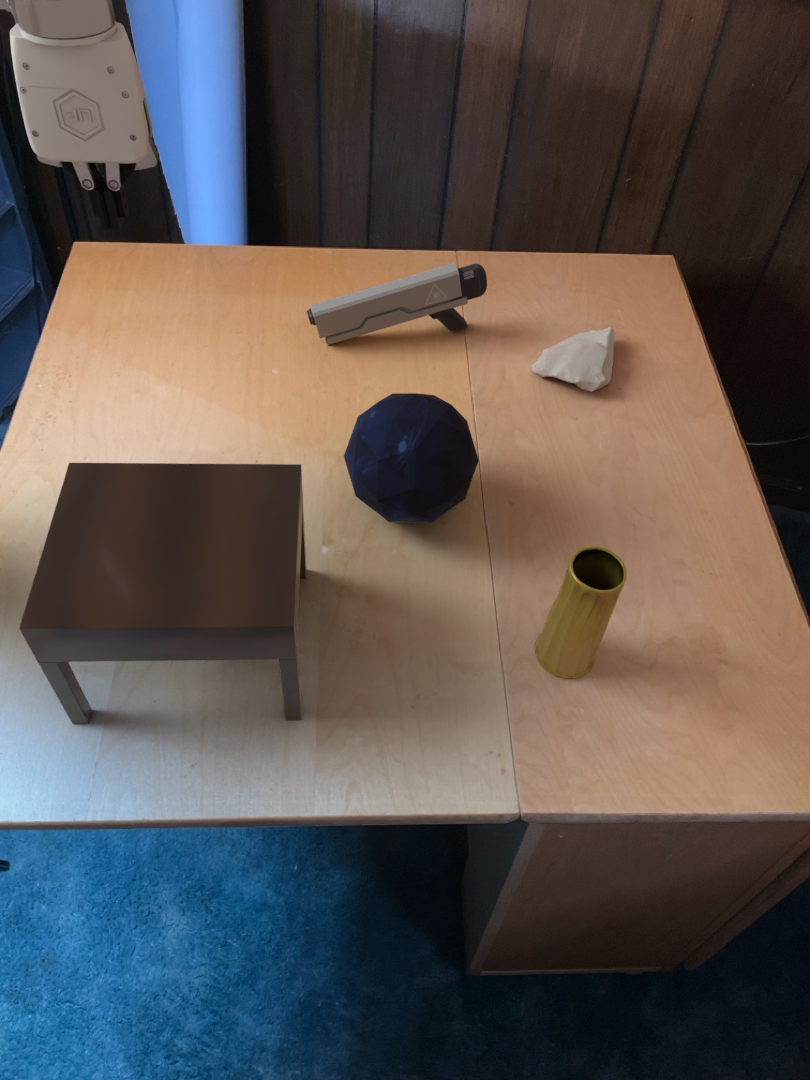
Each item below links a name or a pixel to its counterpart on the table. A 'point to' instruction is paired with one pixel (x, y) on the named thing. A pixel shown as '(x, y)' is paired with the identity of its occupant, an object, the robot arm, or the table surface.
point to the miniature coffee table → (170, 571)
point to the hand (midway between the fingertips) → (113, 222)
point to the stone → (580, 359)
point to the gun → (400, 303)
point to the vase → (581, 612)
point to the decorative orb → (411, 457)
